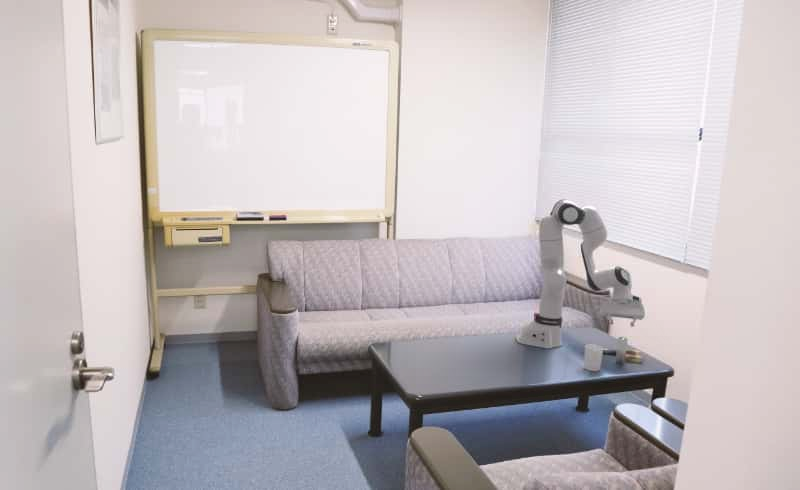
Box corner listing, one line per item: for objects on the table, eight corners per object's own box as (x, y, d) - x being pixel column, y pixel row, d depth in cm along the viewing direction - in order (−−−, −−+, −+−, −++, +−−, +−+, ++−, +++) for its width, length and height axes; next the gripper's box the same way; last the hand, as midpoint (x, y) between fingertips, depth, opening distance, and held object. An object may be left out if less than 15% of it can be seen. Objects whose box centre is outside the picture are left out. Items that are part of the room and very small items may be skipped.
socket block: (619, 360, 283) (619, 354, 283) (617, 352, 293) (617, 347, 292) (641, 362, 281) (642, 357, 281) (639, 355, 290) (639, 350, 290)
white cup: (602, 372, 267) (604, 351, 265) (583, 370, 268) (585, 349, 266) (600, 366, 274) (602, 345, 272) (582, 364, 276) (584, 343, 274)
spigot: (615, 364, 278) (618, 339, 276) (614, 360, 282) (617, 336, 280) (624, 365, 277) (627, 340, 275) (624, 362, 281) (627, 337, 279)
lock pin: (597, 353, 293) (598, 351, 291) (598, 349, 294) (598, 347, 292) (615, 356, 291) (616, 354, 289) (615, 351, 292) (616, 349, 290)
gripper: (600, 294, 294) (599, 319, 286) (645, 298, 289) (645, 324, 282) (598, 300, 299) (598, 325, 291) (642, 305, 294) (643, 330, 287)
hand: (621, 324), depth 286 cm, fingers open, 8 cm apart
